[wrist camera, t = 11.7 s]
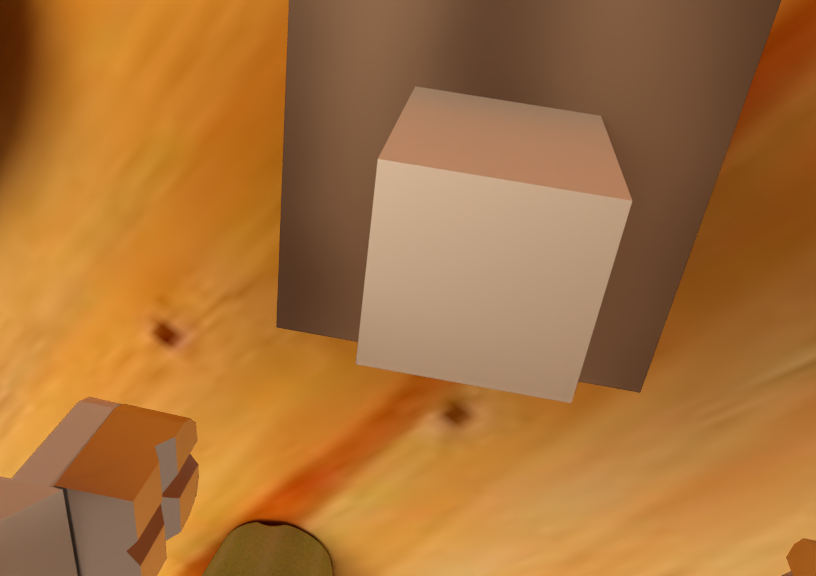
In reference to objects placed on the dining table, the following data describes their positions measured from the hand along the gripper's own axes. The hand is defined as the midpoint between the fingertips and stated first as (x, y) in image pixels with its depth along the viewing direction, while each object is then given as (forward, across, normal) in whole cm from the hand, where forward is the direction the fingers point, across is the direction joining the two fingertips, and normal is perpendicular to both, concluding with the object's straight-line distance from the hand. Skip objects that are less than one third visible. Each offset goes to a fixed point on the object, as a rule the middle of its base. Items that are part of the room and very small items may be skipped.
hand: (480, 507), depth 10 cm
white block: (+12, 0, 0) cm, 12 cm away
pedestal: (+18, +1, 0) cm, 18 cm away
